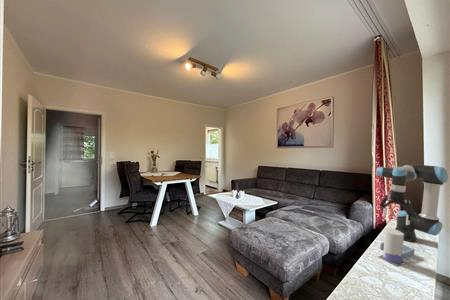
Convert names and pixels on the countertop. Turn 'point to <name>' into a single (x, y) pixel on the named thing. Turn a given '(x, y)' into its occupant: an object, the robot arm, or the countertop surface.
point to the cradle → (406, 250)
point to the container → (393, 245)
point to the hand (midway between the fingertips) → (395, 220)
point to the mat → (392, 262)
